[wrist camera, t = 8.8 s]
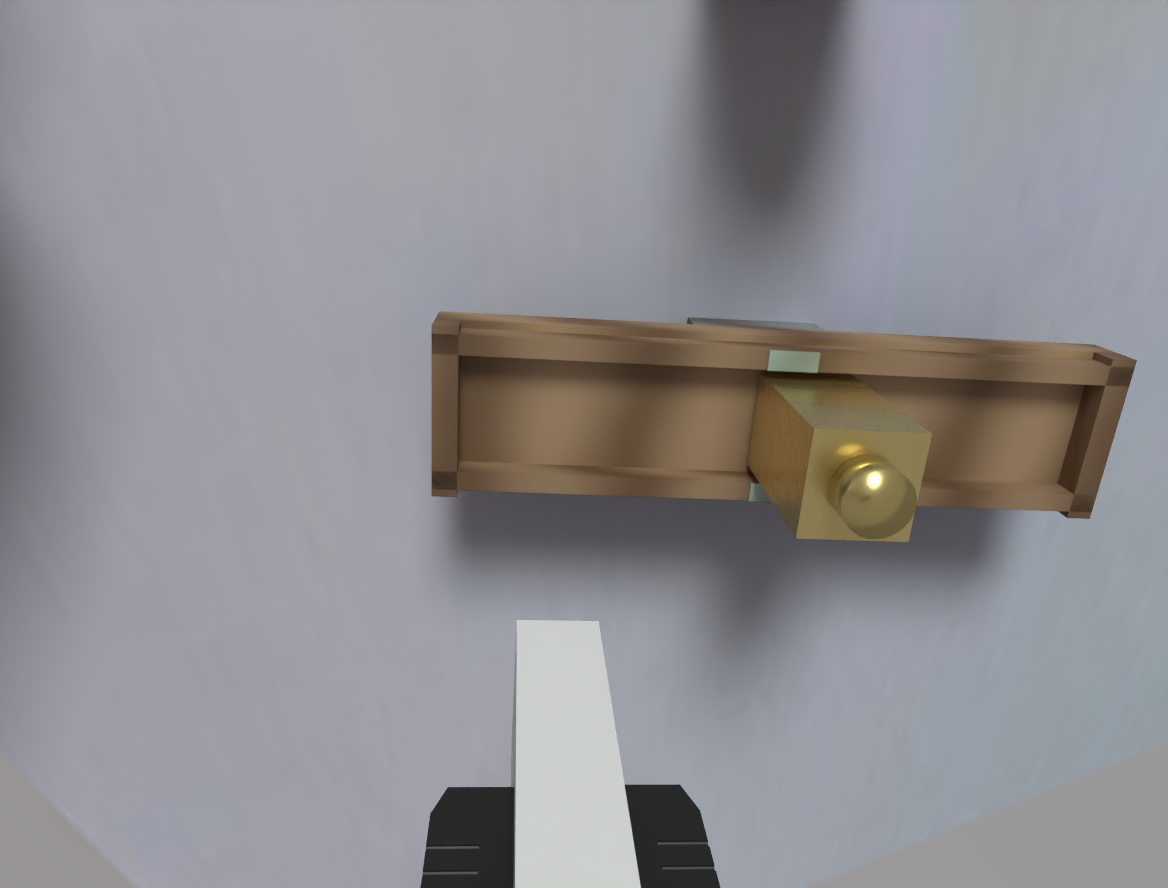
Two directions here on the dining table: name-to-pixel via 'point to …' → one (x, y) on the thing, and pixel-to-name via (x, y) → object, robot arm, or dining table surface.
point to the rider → (836, 457)
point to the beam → (727, 402)
